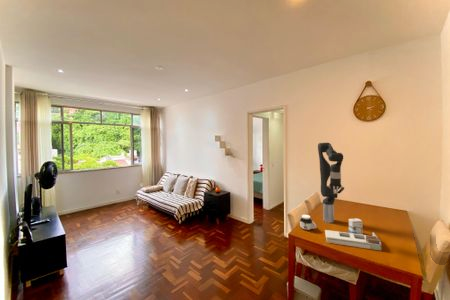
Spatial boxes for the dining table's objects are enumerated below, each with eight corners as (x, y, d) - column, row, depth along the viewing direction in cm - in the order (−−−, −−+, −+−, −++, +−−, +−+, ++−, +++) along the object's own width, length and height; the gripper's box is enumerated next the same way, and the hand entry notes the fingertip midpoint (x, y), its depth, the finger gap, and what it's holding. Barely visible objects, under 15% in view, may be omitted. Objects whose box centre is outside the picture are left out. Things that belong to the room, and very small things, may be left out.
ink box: (352, 235, 158) (352, 221, 157) (348, 232, 163) (348, 218, 162) (362, 234, 158) (362, 220, 158) (358, 231, 164) (358, 218, 163)
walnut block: (365, 240, 146) (365, 235, 145) (375, 241, 143) (375, 236, 143) (368, 244, 140) (368, 239, 140) (378, 245, 138) (378, 240, 137)
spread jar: (298, 228, 174) (298, 215, 173) (305, 224, 181) (304, 212, 180) (311, 233, 165) (311, 219, 164) (318, 228, 172) (317, 215, 171)
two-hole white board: (325, 232, 164) (325, 226, 164) (373, 239, 151) (373, 232, 151) (326, 242, 150) (326, 235, 149) (381, 250, 136) (381, 243, 136)
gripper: (344, 176, 158) (343, 197, 160) (325, 175, 163) (325, 195, 165) (345, 178, 151) (345, 200, 153) (326, 177, 156) (326, 198, 158)
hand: (335, 198), depth 159 cm, fingers closed
